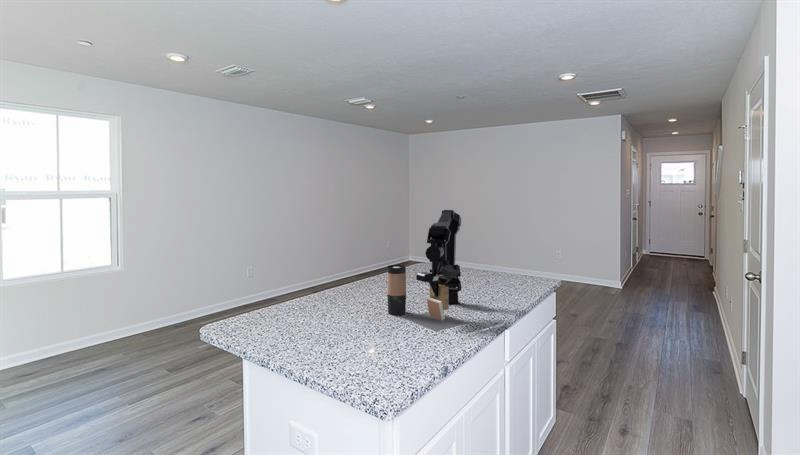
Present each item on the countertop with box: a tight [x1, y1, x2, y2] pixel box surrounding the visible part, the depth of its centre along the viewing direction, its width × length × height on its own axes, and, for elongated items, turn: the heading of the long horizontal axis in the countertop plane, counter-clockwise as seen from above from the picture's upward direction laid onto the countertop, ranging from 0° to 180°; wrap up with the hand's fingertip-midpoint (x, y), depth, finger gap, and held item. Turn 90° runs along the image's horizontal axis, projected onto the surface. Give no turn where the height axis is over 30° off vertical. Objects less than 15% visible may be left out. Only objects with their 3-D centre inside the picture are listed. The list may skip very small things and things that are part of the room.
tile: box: [426, 296, 445, 320], centre depth 167 cm, size 8×2×8 cm, turn 36°
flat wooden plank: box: [429, 284, 450, 311], centre depth 168 cm, size 9×2×9 cm, turn 36°
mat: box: [403, 311, 468, 332], centre depth 165 cm, size 20×16×1 cm
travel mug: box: [386, 264, 407, 317], centre depth 174 cm, size 8×8×20 cm
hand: (438, 296), depth 168 cm, fingers closed on flat wooden plank, 2 cm apart
